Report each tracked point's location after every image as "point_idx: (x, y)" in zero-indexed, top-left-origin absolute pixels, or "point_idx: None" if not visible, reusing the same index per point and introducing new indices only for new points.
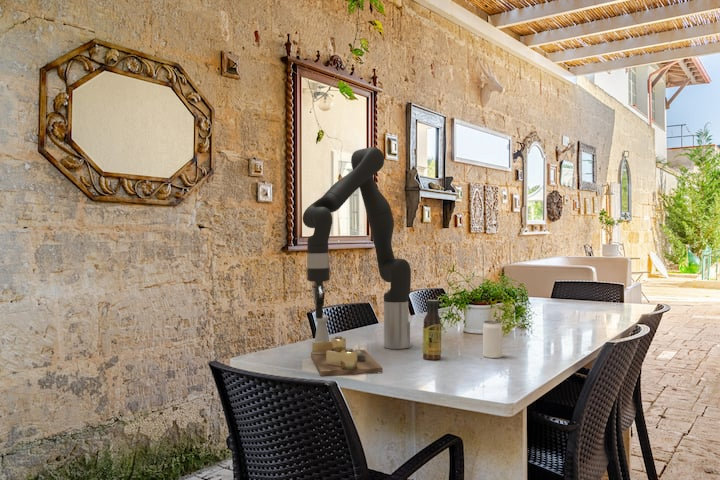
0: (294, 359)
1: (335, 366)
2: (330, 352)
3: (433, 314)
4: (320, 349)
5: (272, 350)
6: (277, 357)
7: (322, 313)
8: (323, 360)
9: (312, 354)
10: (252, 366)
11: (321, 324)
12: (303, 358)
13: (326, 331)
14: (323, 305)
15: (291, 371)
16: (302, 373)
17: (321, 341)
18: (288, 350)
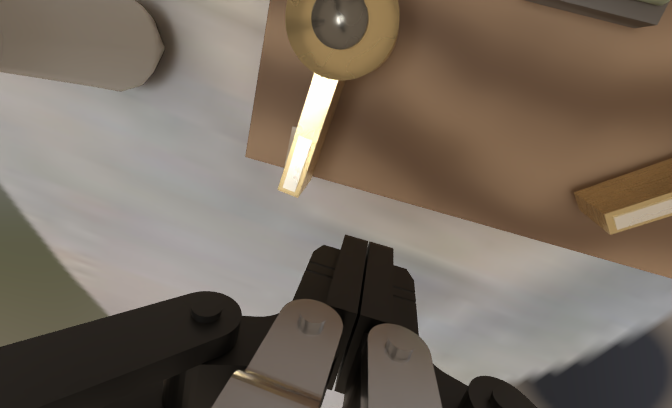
0: (281, 239)
1: None
2: (648, 220)
3: None
4: (322, 142)
5: (69, 250)
6: (214, 281)
7: (390, 272)
8: (471, 179)
9: None
10: (331, 400)
11: (13, 47)
12: (278, 198)
13: (62, 7)
14: (517, 392)
15: (495, 329)
16: (559, 309)
17: (299, 138)
18: (84, 192)
